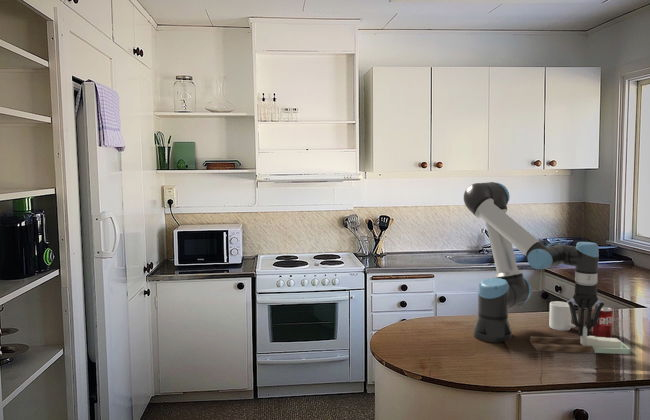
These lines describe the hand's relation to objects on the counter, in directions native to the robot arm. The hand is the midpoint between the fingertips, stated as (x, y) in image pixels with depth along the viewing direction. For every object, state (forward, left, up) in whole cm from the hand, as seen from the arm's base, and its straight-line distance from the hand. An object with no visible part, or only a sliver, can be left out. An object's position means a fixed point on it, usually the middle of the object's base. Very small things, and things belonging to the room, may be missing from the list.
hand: (583, 344), depth 193 cm
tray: (+9, 0, -2) cm, 9 cm away
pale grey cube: (+3, 0, -1) cm, 3 cm away
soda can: (+13, +16, -3) cm, 21 cm away
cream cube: (+11, 0, -2) cm, 11 cm away
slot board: (-8, 0, -2) cm, 9 cm away
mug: (+1, +25, -3) cm, 25 cm away
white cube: (+7, 0, -2) cm, 7 cm away
